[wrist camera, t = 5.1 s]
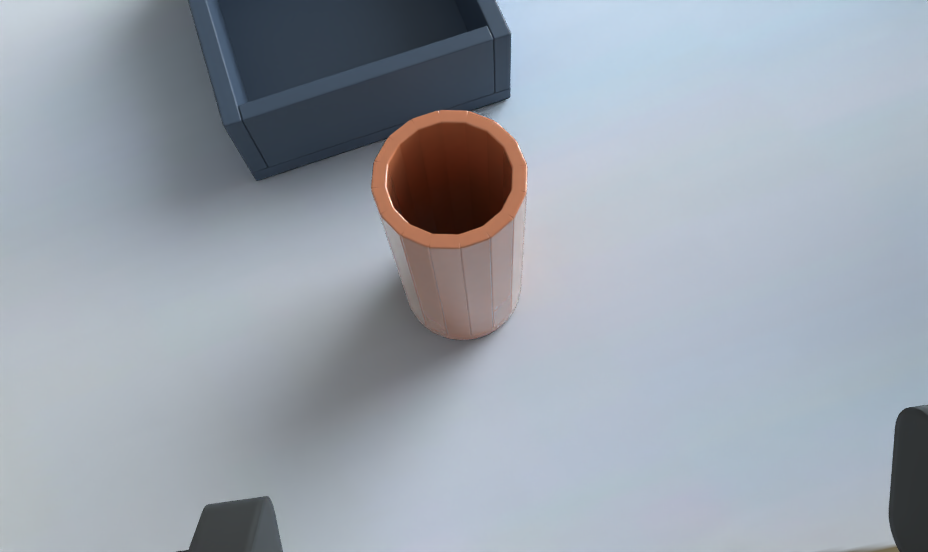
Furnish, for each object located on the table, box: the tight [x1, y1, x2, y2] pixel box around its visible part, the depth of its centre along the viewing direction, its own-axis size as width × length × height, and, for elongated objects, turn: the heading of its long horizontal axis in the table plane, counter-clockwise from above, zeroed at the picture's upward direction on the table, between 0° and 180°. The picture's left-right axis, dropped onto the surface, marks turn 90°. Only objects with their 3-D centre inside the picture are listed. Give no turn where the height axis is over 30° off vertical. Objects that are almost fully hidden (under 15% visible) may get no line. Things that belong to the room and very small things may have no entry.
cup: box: [371, 110, 528, 340], centre depth 31 cm, size 5×5×10 cm
